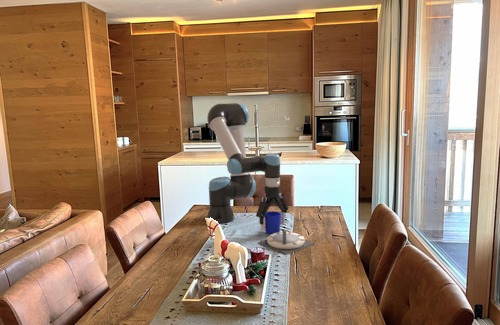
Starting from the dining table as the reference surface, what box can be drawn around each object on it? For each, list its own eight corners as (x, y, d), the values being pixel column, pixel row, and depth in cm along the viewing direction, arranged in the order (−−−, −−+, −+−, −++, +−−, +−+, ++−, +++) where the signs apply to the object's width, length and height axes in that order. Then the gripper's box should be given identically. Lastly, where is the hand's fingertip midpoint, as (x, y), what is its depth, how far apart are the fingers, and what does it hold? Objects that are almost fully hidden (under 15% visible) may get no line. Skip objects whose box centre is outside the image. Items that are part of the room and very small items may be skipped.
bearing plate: (258, 243, 174) (258, 237, 173) (285, 234, 185) (285, 228, 185) (286, 254, 160) (286, 247, 160) (314, 244, 172) (314, 237, 171)
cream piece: (276, 251, 162) (276, 233, 161) (261, 238, 178) (261, 222, 176) (311, 245, 167) (311, 229, 166) (294, 233, 183) (294, 218, 182)
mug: (281, 228, 195) (281, 209, 193) (280, 236, 183) (280, 216, 181) (265, 227, 195) (265, 209, 194) (263, 235, 184) (263, 215, 182)
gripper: (258, 190, 175) (259, 234, 178) (295, 183, 191) (295, 223, 194) (248, 188, 181) (249, 231, 184) (284, 181, 196) (284, 220, 199)
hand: (272, 227), depth 189 cm, fingers open, 13 cm apart
